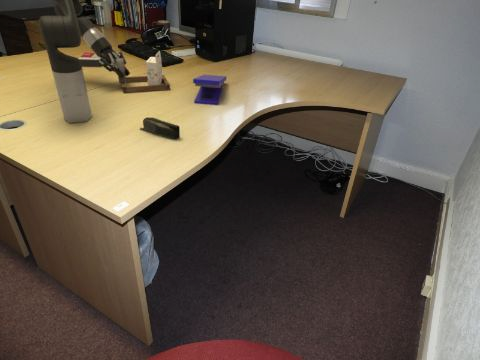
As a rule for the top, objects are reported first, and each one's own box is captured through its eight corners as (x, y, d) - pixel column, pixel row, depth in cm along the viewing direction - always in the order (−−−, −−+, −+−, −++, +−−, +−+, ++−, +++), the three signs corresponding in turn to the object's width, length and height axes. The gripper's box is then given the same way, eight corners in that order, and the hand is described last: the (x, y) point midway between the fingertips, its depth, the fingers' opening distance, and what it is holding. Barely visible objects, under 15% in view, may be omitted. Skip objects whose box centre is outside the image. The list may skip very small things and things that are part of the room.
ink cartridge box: (152, 82, 155) (149, 49, 147) (163, 83, 155) (160, 50, 147) (147, 88, 148) (144, 54, 140) (159, 89, 148) (156, 55, 140)
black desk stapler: (180, 124, 110) (142, 113, 114) (176, 127, 108) (137, 117, 112) (180, 137, 113) (143, 127, 117) (176, 141, 111) (138, 130, 115)
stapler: (192, 103, 138) (192, 80, 132) (202, 82, 161) (202, 61, 155) (220, 106, 138) (221, 82, 132) (226, 83, 161) (227, 63, 155)
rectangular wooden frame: (170, 89, 148) (168, 61, 141) (121, 92, 141) (117, 63, 135) (164, 79, 159) (162, 53, 152) (118, 81, 152) (114, 54, 145)
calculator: (105, 52, 179) (99, 58, 167) (107, 60, 182) (101, 67, 169) (84, 51, 178) (76, 58, 165) (85, 60, 180) (78, 67, 167)
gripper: (89, 39, 132) (119, 75, 136) (112, 33, 143) (140, 66, 147) (81, 51, 137) (111, 85, 140) (104, 44, 148) (131, 76, 151)
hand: (125, 75), depth 144 cm, fingers closed on rectangular wooden frame, 3 cm apart
